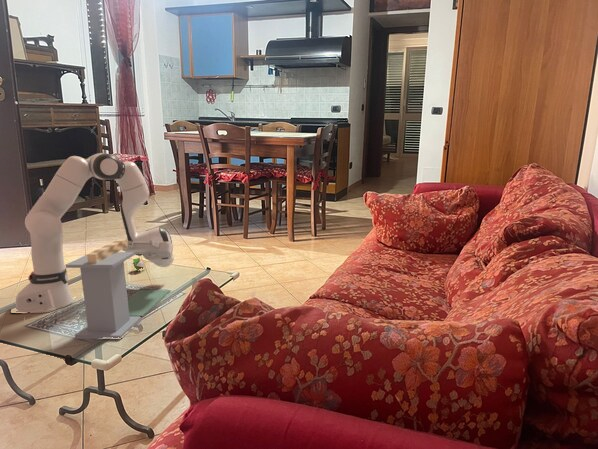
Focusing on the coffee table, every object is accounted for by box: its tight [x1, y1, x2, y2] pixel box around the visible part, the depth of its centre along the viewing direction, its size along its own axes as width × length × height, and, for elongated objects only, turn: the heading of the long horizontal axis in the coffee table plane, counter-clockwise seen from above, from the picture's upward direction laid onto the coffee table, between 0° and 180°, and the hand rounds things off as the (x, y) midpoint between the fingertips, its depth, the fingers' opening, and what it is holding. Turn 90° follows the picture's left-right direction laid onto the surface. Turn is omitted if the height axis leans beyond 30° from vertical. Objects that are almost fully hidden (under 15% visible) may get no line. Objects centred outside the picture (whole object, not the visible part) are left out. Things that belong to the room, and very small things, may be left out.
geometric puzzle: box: [130, 257, 147, 272], centre depth 226 cm, size 7×7×8 cm
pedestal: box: [65, 251, 143, 340], centre depth 155 cm, size 16×16×26 cm
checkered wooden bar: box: [86, 238, 128, 263], centre depth 157 cm, size 22×3×3 cm, turn 175°
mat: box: [127, 289, 171, 317], centre depth 181 cm, size 28×14×1 cm, turn 175°
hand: (139, 242), depth 181 cm, fingers open, 8 cm apart
